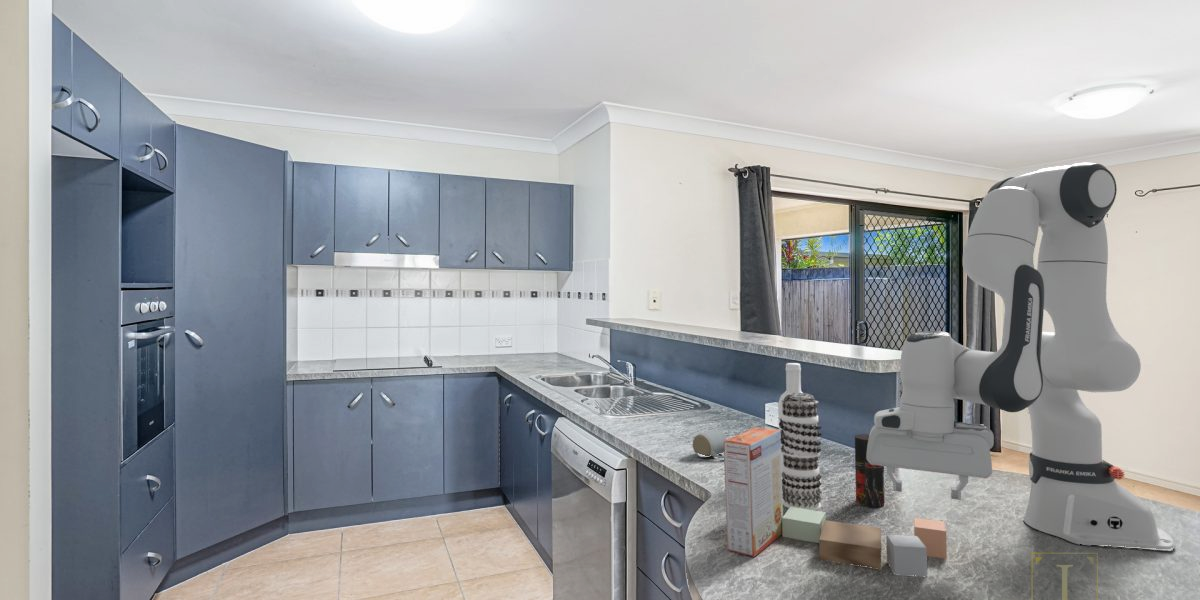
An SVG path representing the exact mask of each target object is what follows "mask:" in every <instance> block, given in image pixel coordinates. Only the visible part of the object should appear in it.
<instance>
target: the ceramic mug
mask: <svg viewBox="0 0 1200 600" xmlns="http://www.w3.org/2000/svg"><path fill="white" fill-rule="evenodd" d="M727 439H728V438H727V437H726V435H725V434H724V432H723V431H721V429H719V428H712V429H709V430H707V431H705V432H700V433H699V434H697V435H696V436H694V439H693V440H692V449H693V451H694V454H696V453H699V454H702V455H705V456H710V455H711V456H713V457H718V458H724V455H722V456H721V455H717V454H719V453H723V452H724V441H725V440H727ZM723 454H724V453H723ZM713 457H712V458H713Z"/></svg>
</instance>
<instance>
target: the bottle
mask: <svg viewBox="0 0 1200 600" xmlns="http://www.w3.org/2000/svg"><path fill="white" fill-rule="evenodd" d="M801 371H802V367H801V364H800V363H798V362H787V363H785V387H786V388H785V389H786V390H785V391H784V392H783V393H781V395H780V397H779V401H778V405H777V410H778V411H777V412H778V415H777V416H778V424H779V423H780V419H781V420H782V413H783V407H782V405H783V404H782V401H781V400H783V399H784V398H785V396H786V395H787V394H790V393H804V392H803V391H802V383H801V382H802V379H801V378H802V376H801V375H802V373H801ZM778 430H780V431H781V430H782V428H780V426H779V425H778ZM780 438H781V435H780ZM782 445H784V444H781V447H782ZM783 464H784V459H783V454H782V452H781V469H782V472H783ZM782 479H783V477H782Z"/></svg>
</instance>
